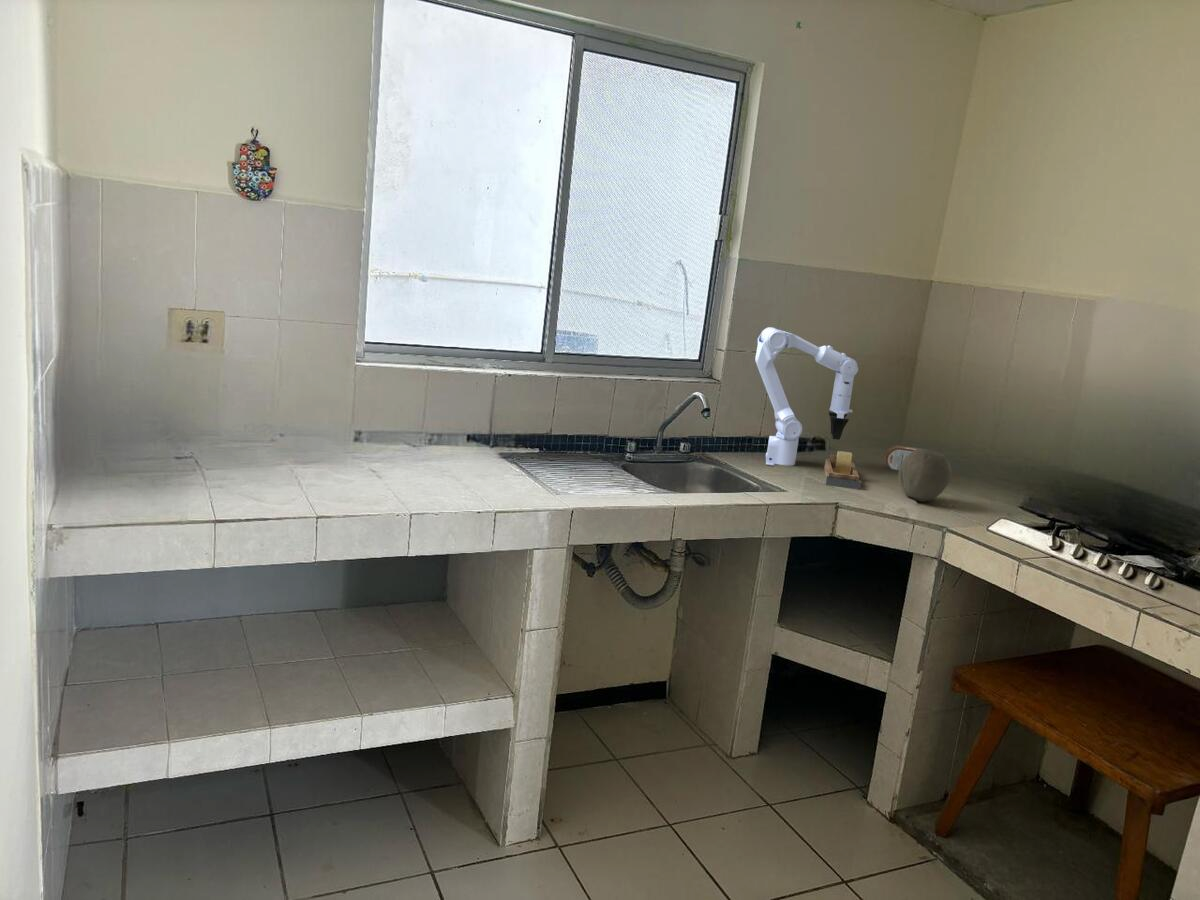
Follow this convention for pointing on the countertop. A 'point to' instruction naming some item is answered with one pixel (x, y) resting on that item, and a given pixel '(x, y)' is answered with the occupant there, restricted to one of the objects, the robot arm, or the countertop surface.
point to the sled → (830, 471)
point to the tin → (897, 456)
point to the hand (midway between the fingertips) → (835, 436)
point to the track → (843, 482)
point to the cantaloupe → (924, 474)
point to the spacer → (843, 462)
